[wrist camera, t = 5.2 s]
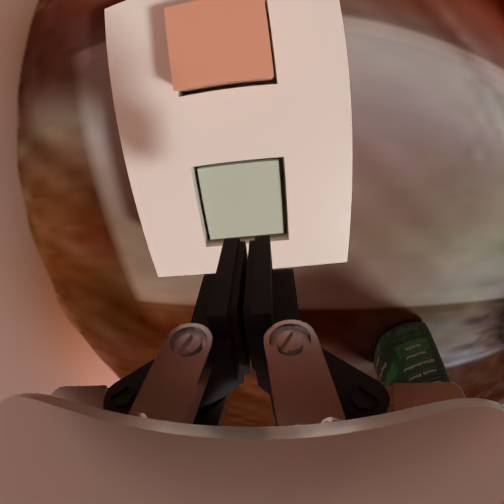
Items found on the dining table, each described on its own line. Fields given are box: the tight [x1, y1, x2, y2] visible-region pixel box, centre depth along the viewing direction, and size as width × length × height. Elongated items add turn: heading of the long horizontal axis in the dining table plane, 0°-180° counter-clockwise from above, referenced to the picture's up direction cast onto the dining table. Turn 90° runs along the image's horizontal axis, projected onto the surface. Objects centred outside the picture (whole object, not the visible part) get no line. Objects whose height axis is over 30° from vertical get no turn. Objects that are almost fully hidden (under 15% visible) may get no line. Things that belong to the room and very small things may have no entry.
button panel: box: [104, 0, 352, 277], centre depth 17 cm, size 14×20×5 cm
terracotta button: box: [164, 0, 274, 92], centre depth 12 cm, size 5×5×3 cm
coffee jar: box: [374, 322, 450, 386], centre depth 24 cm, size 10×8×19 cm
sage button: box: [197, 157, 284, 240], centre depth 19 cm, size 5×5×3 cm
